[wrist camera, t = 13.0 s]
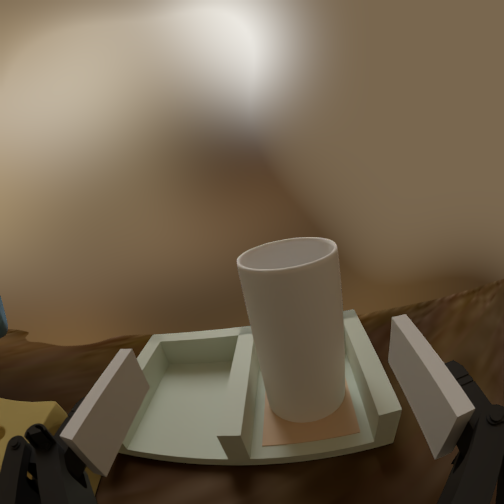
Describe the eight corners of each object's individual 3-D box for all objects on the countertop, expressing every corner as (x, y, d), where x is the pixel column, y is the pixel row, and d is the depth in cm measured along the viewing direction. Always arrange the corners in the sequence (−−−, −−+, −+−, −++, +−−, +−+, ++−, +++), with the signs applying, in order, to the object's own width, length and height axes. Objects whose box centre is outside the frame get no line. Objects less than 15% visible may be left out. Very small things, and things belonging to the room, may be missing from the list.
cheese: (90, 537, 10) (14, 481, 8) (18, 509, 10) (-44, 449, 7) (109, 463, 20) (59, 399, 18) (43, 452, 20) (-3, 392, 17)
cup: (252, 400, 28) (216, 262, 23) (302, 362, 32) (284, 235, 28) (310, 435, 21) (290, 277, 17) (359, 384, 26) (355, 239, 22)
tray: (393, 442, 19) (402, 404, 17) (117, 452, 22) (91, 418, 21) (354, 341, 36) (353, 305, 34) (164, 362, 39) (151, 331, 38)
